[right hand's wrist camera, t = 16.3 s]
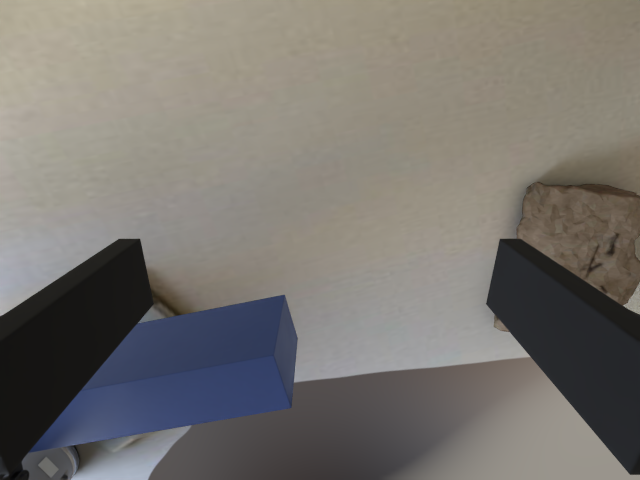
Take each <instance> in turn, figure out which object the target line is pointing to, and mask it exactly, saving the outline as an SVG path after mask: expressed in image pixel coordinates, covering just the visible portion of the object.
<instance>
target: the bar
mask: <svg viewBox="0 0 640 480" xmlns="http://www.w3.org/2000/svg"><path fill="white" fill-rule="evenodd" d="M297 339H298V338H297V335H296V331H295V328H294V325H293V321H292V318H291V314H290V311H289V308H288V304H287V301H286V297H285V295H281V296H275V297H270V298H265V299H260V300H255V301H250V302H245V303H240V304H235V305H230V306H225V307H219V308H214V309H209V310H204V311H199V312H194V313H189V314H184V315H179V316H174V317H169V318H164V319H158V320H153V321H148V322H143V323H138V324H136V326H135V327H134V328H133V329H132V330H131V332H130V333H129V334H128V335H127V336H126V337H125V339H124V340H123V341H122V342H121V343H120V345H119V346H118V347H117V348H116V349H115V350H114V352H113V353H112V354H111V355H110V356H109V358H108V359H107V360H106V361H105V362H104V364H103V365H102V366H101V367H100V368H99V369H98V371H97V372H96V373H95V374H94V375H93V377H92V378H91V379H90V380H89V381H88V383H87V384H86V385H85V386H84V387H83V388H82V390H81V391H80V392H79V393H78V394H77V396H76V397H75V398H74V399H73V400H72V402H71V403H70V404H69V405H68V406H67V407H66V409H65V410H64V411H63V412H62V413H61V415H60V416H59V417H58V418H57V419H56V420H55V422H54V423H53V424H52V425H51V426H50V428H49V429H48V430H47V431H46V432H45V434H44V435H43V436H42V437H41V438H40V439H39V441H38V442H37V443H36V444H35V445H34V447H33V448H32V449H31V450H30V451H29V453H31V452H37V451H43V450H49V449H54V448H60V447H66V446H72V445H78V444H84V443H90V442H95V441H101V440H107V439H113V438H119V437H125V436H130V435H136V434H142V433H148V432H154V431H160V430H166V429H171V428H177V427H183V426H189V425H195V424H200V423H206V422H212V421H218V420H224V419H230V418H236V417H242V416H247V415H253V414H259V413H265V412H271V411H277V410H282V409H288V408H291V405H292V395H293V383H294V372H295V361H296V350H297Z"/></svg>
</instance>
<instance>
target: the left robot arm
mask: <svg viewBox="0 0 640 480" xmlns="http://www.w3.org/2000/svg"><path fill="white" fill-rule="evenodd" d="M78 466H79V456H78V453H77V451H76V449H75V448H74V446H73V445H72V446H66V447H60V448H54V449H49V450H43V451H37V452H31V453H28V454H27V455H26V456H25V457H24V458H23V460H22V461H21V462H20V463H19V464H18V466H17V467H16V468H15V469H14V470H13V471H12V473H11V474H10V475H0V480H70V479H71V478H72V476H73V475H74V473H75V472H76V470H77V469H78Z"/></svg>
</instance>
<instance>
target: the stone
mask: <svg viewBox="0 0 640 480" xmlns="http://www.w3.org/2000/svg"><path fill="white" fill-rule="evenodd" d="M522 214H523V217H522V219H521V221H520V224H519V225H518V227H517V239H522V240H523V241H525V242H526V243H528V244H529V245H531V246H532V247H534V248H536V249H537V250H539V251H540V252H542V253H543V254H545V255H546V256H548V257H549V258H551V259H552V260H554V261H555V262H557V263H558V264H560V265H561V266H563V267H564V268H566V269H567V270H569V271H571V272H572V273H574V274H575V275H577V276H578V277H580V278H581V279H583V280H584V281H586V282H587V283H589V284H590V285H592V286H593V287H595V288H596V289H598V290H599V291H601V292H602V293H604V294H605V295H607V296H609V297H610V298H612V299H613V300H615V301H616V302H618V303H619V304H621V305H622V306H623V305H624V304H626V303H628V300H629V298H630V297H631V296H632V295H633V293H634V291H635V289H636V287H637V286H638V284H639V282H640V261H639V260H638V259H637V257H636V255H635V246H634V241H635V240H636V239H637V238H638V236H639V235H640V196H638V195H636V193H634V192H630V191H625V190H621V189H617V188H614V187H611V186H608V185H595V184H585V185H581V186H572V185H569V186H560V185H551V186H549V185H543V184H542V183H540V182H536V183H533V184H532V185H531V186H529V187H528V188H527V190H526V195H525V197H524V200H523V208H522ZM494 320H495V321H494V327H495V328H497V329H499V330H501V331H506V332H509V330H508V329H507V328H506V327H505V326H504V324H503V323H502V322H501V321H500V320H499V318H498V317H497V316H496V315H495V317H494Z"/></svg>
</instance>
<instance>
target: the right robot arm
mask: <svg viewBox="0 0 640 480" xmlns="http://www.w3.org/2000/svg"><path fill="white" fill-rule="evenodd" d="M153 304H154V303H153V298H152V294H151V289H150V284H149V279H148V275H147V270H146V265H145V260H144V256H143V251H142V246H141V241H140V239H118V240H117V241H115V242H114V243H112V244H111V245H109V246H108V247H106V248H104V249H103V250H101V251H100V252H98V253H97V254H95V255H94V256H92V257H91V258H89V259H88V260H86V261H85V262H83V263H82V264H80V265H79V266H77V267H76V268H74V269H73V270H71V271H69V272H68V273H66V274H65V275H63V276H62V277H60V278H59V279H57V280H56V281H54V282H53V283H51V284H50V285H48V286H47V287H45V288H44V289H42V290H41V291H39V292H38V293H36V294H35V295H33V296H31V297H30V298H28V299H27V300H25V301H24V302H22V303H21V304H19V305H18V306H16V307H15V308H13V309H12V310H10V311H9V312H7V313H6V314H4V315H2V316H0V475H10V474H11V473H12V471H13V470H14V469H15V468H16V467H17V466H18V464H19V463H20V462H21V461H22V460H23V458H24V457H25V456H26V455H27V454H28V453H29V451H30V450H31V449H32V448H33V447H34V445H35V444H36V443H37V442H38V441H39V439H40V438H41V437H42V436H43V435H44V434H45V432H46V431H47V430H48V429H49V428H50V426H51V425H52V424H53V423H54V422H55V420H56V419H57V418H58V417H59V416H60V415H61V413H62V412H63V411H64V410H65V409H66V407H67V406H68V405H69V404H70V403H71V402H72V400H73V399H74V398H75V397H76V396H77V394H78V393H79V392H80V391H81V390H82V388H83V387H84V386H85V385H86V384H87V383H88V381H89V380H90V379H91V378H92V377H93V375H94V374H95V373H96V372H97V371H98V369H99V368H100V367H101V366H102V365H103V364H104V362H105V361H106V360H107V359H108V358H109V356H110V355H111V354H112V353H113V352H114V350H115V349H116V348H117V347H118V346H119V345H120V343H121V342H122V341H123V340H124V339H125V337H126V336H127V335H128V334H129V333H130V332H131V330H132V329H133V328H134V327H135V326H136V324H137V323H138V322H139V321H140V320H141V318H142V317H143V316H144V315H145V314H146V313H147V311H148V310H149V309H150V308H151V307H152V305H153ZM486 304H487V305H488V307H489V308H490V309H491V310H492V311H493V313H494V314H495V315H496V316H497V317H498V318H499V320H500V321H501V322H502V323H503V324H504V326H505V327H506V328H507V329H508V330H509V332H510V333H511V334H512V335H513V336H514V337H515V339H516V340H517V341H518V342H519V343H520V345H521V346H522V347H523V348H524V349H525V350H526V352H527V353H528V354H529V355H530V356H531V358H532V359H533V360H534V361H535V362H536V364H537V365H538V366H539V367H540V368H541V369H542V371H543V372H544V373H545V374H546V375H547V377H548V378H549V379H550V380H551V381H552V383H553V384H554V385H555V386H556V387H557V388H558V390H559V391H560V392H561V393H562V394H563V396H564V397H565V398H566V399H567V400H568V402H569V403H570V404H571V405H572V406H573V407H574V409H575V410H576V411H577V412H578V413H579V415H580V416H581V417H582V418H583V419H584V420H585V422H586V423H587V424H588V425H589V426H590V428H591V429H592V430H593V431H594V432H595V434H596V435H597V436H598V437H599V438H600V439H601V441H602V442H603V443H604V444H605V445H606V447H607V448H608V449H609V450H610V451H611V453H612V454H613V455H614V456H615V457H616V458H617V460H618V461H619V462H620V463H621V464H622V466H623V467H624V468H625V469H626V470H627V471H628V473H629V474H630V475H640V315H639V314H637V313H635V312H633V311H630V310H628V309H627V308H625V307H624V306H622V305H621V304H619V303H618V302H616V301H615V300H613V299H612V298H610V297H609V296H607V295H605V294H604V293H602V292H601V291H599V290H598V289H596V288H595V287H593V286H592V285H590V284H589V283H587V282H586V281H584V280H583V279H581V278H580V277H578V276H577V275H575V274H574V273H572V272H571V271H569V270H567V269H566V268H564V267H563V266H561V265H560V264H558V263H557V262H555V261H554V260H552V259H551V258H549V257H548V256H546V255H545V254H543V253H542V252H540V251H539V250H537V249H536V248H534V247H532V246H531V245H529V244H528V243H526V242H525V241H523V240H522V239H500V241H499V246H498V251H497V256H496V260H495V265H494V270H493V275H492V279H491V284H490V289H489V294H488V298H487V303H486Z"/></svg>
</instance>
